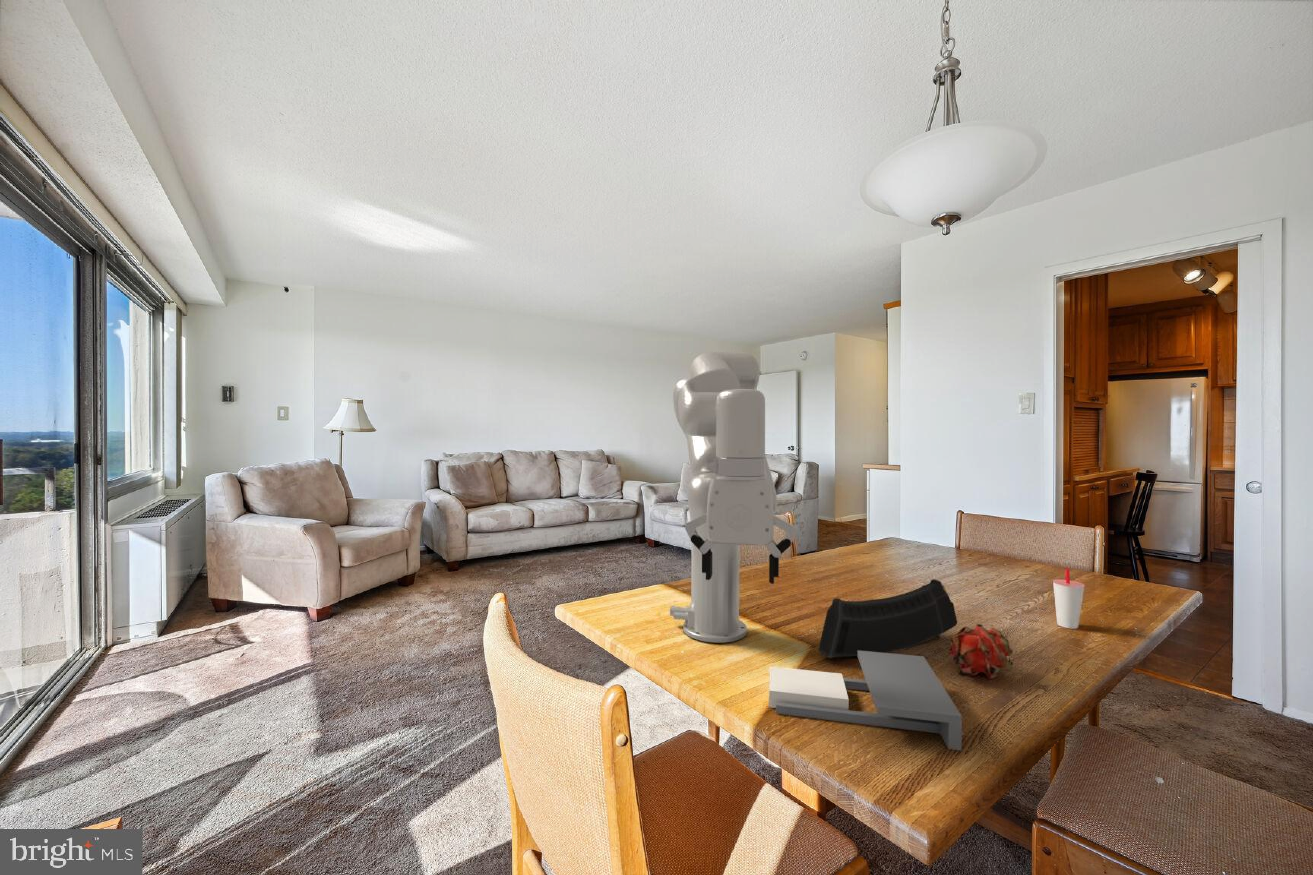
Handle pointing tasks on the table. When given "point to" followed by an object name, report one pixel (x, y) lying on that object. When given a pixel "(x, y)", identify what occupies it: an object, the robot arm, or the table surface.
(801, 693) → the white rounded slab
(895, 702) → the dock
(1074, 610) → the cup
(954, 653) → the dragon fruit
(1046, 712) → the table surface
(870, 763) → the table surface
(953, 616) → the magazine
